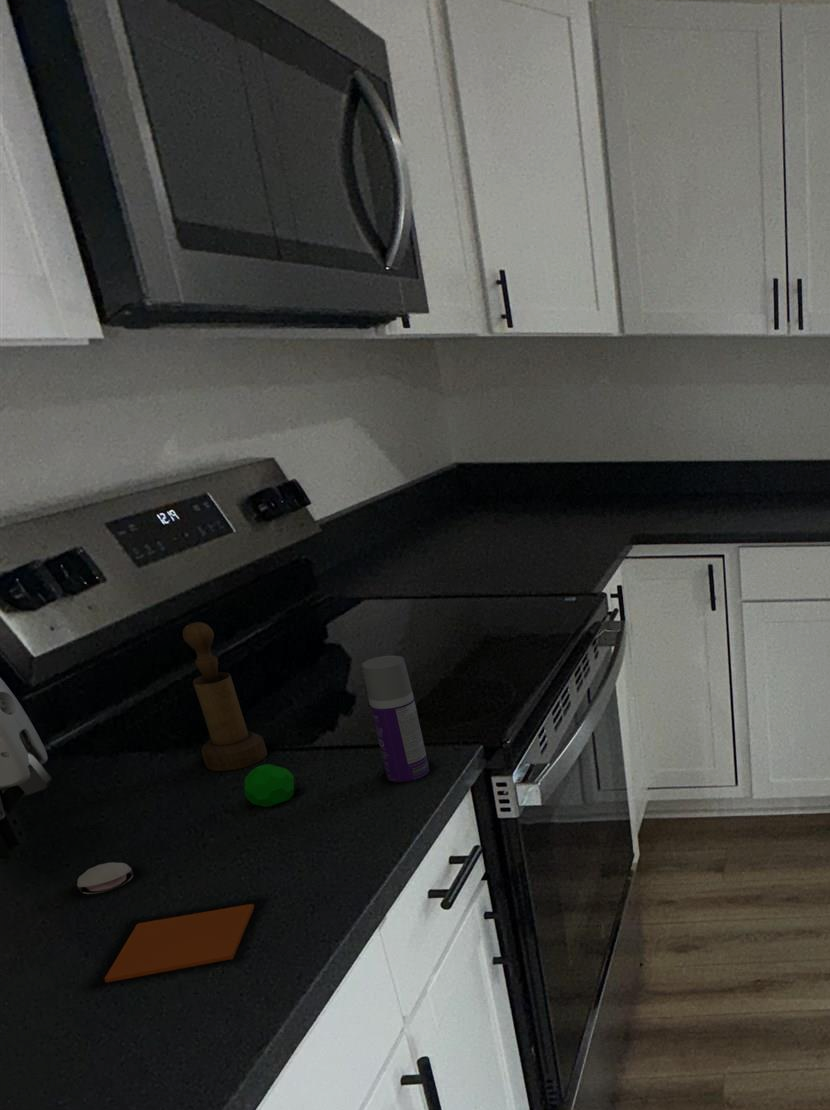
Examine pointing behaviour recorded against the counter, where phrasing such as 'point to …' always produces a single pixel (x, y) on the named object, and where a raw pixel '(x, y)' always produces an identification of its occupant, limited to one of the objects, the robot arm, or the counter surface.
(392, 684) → the container
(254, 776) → the polyhedron
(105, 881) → the macaroon
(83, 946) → the counter surface
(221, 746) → the mortar and pestle
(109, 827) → the counter surface
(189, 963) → the orange cloth
